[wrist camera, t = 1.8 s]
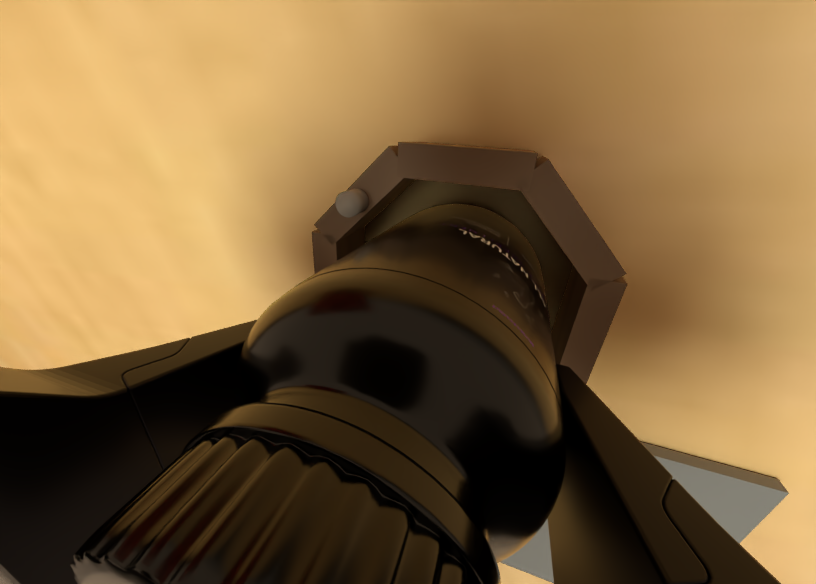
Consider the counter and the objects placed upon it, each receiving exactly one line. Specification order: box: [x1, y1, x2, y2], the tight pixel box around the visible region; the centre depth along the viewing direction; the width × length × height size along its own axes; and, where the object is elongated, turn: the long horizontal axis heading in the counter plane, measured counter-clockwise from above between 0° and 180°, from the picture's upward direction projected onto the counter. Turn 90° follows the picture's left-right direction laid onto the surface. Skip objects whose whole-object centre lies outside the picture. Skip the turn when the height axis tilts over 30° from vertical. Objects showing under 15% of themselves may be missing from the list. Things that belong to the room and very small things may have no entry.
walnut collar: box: [312, 142, 627, 384], centre depth 12 cm, size 10×10×3 cm
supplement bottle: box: [70, 204, 566, 584], centre depth 8 cm, size 7×7×12 cm
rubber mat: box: [500, 442, 789, 583], centre depth 17 cm, size 12×12×1 cm
